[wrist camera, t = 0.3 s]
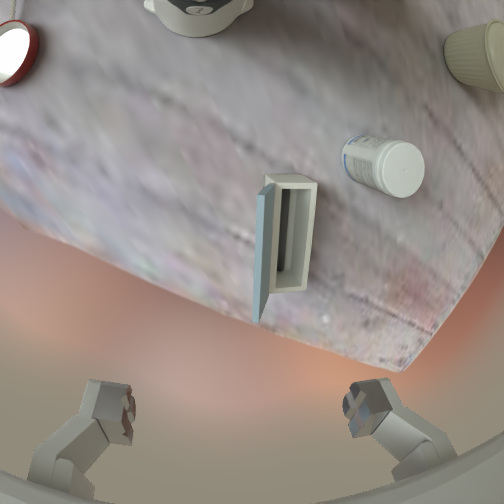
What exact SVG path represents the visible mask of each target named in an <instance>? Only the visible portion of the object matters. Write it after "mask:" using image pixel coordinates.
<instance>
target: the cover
mask: <svg viewBox="0 0 504 504" xmlns="http://www.w3.org/2000/svg"><path fill="white" fill-rule="evenodd" d="M274 201H275V183H269V184H268V185H267V186H265V187H264V188H263V189H262V190H261V191H260V192H259V193H258V194H257V211H256V238H255V265H254V291H253V317H252V322H256V323H259V320H260V318H261V315H262V313H263V310H264V307H265V305H266V302H267V299H268V296H269V284H270V269H271V253H272V236H273V219H274Z"/></svg>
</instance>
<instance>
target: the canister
mask: <svg viewBox="0 0 504 504" xmlns="http://www.w3.org/2000/svg"><path fill="white" fill-rule="evenodd" d="M444 57H445V61H446V64H447V66H448V68H449V70H450V72H451V73H452V75H453V76H454V77H455V78H456V79H457V80H458V81H460V82H461V83H463V84H465V85H469V86H473V87H477V88H481V89H486V90H490V91H494V92H498V93H502V94H504V23H503V22H502V21H500V20H498V19H492V20H490V21H489V22H488V23H486V24H482V25H478V26H474V27H471V28H467V29H464V30H461V31H458V32H455V33H453V34H451V35H450V36H449V37H448V38H447V39H446V42H445V45H444Z"/></svg>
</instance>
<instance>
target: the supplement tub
mask: <svg viewBox="0 0 504 504" xmlns="http://www.w3.org/2000/svg"><path fill="white" fill-rule="evenodd" d="M342 166H343V169H344V171H345V173H346V174H347V175H348V176H349V177H350V178H351V179H353V180H355V181H357V182H359V183H362V184H364V185H367V186H369V187H371V188H374V189H376V190H378V191H381V192H383V193H385V194H388V195H390V196H394V197H398V198H406V197H409V196H411V195H412V194H414V193H415V192H416V191H417V190H418V188H419V187H420V185H421V183H422V181H423V178H424V173H425V165H424V159H423V156H422V154H421V152H420V151H419V149H418V148H417V147H416V146H414V145H413V144H411V143H408V142H405V141H401V140H395V139H389V138H383V137H376V136H368V135H357V136H354V137H353V138H351V139H350V140H349V141H348V142H347V143H346V144H345V146H344V148H343V151H342Z"/></svg>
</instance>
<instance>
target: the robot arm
mask: <svg viewBox="0 0 504 504" xmlns="http://www.w3.org/2000/svg"><path fill="white" fill-rule="evenodd" d="M253 4H254V2H253V0H145V2H144V8H145V9H146V10H147V11H148V12H150V13H152V14H154V15H156V16H157V17H158V18H159V19H160V20H161V22H162V23H163V24H164V25H165V26H166V27H167V28H168V29H170V30H171V31H173V32H175V33H177V34H180V35H183V36H188V37H204V36H209V35H213V34H215V33H218V32H220V31H222V30H224V29H225V28H226V27H228V26H229V25H230V24H231V23H232V22H233V21H234V20H235V19H236V18H237V17H238V16H239V15H240V14H243V13H245V12H247V11H249V10H250V9H252V7H253ZM131 393H132V389H131V386H130V385H128V384H120V383H113V382H106V381H100V380H93V379H90V380H89V381H88V383H87V386H86V389H85V393H84V396H83V400H82V404H81V407H80V411H79V415H74V416H73V417H72V418H70V419H69V420H68V421H67V422H66V423H65V424H64V425H62V426H61V427H60V428H59V429H58V430H57V431H55V432H54V433H53V434H52V435H51V436H50V437H49V438H47V439H46V440H45V441H44V442H43V443H42V444H40V445H39V446H38V447H37V448H36V449H35V450H34V453H33V457H32V461H31V465H30V470H29V473H28V477H27V480H26V479H23V478H21V477H18V476H16V475H13V474H11V473H9V472H6V471H4V470H2V469H0V504H113V503H108V502H102V501H98V500H94V490H95V487H94V485H93V484H92V483H91V482H90V481H89V480H88V479H87V478H86V477H85V476H84V474H85V473H86V471H87V470H88V469H89V468H90V467H91V466H92V464H93V463H94V462H95V461H96V460H97V459H98V457H99V456H100V455H101V454H102V453H103V452H104V450H105V449H106V448H107V447H108V446H109V443H113V444H121V445H129V446H131V445H132V438H133V428H132V425H131V424H132V423H133V422H134V421H135V415H136V405H135V399H134V397H133V396H132V395H131ZM342 406H343V412H344V415H345V416H346V417H347V418H348V419H350V422H349V424H348V426H349V429H350V431H351V434H352V437H353V438H357V437H362V436H367V435H372V437H373V438H374V439H375V440H376V441H377V442H378V443H379V444H381V445H382V446H383V447H384V448H385V449H386V450H387V451H388V452H389V453H390V454H392V455H393V456H394V457H395V458H396V459H397V460H398V461H399V462H400V463H399V464H398V465H397V466H396V467H394V468H393V470H392V475H393V477H394V480H395V482H394V483H391V484H389V485H385V486H382V487H379V488H376V489H372V490H369V491H366V492H362V493H358V494H355V495H350V496H346V497H342V498H338V499H333V500H329V501H324V502H318V503H313V504H504V431H503V432H501V433H499V434H498V435H496V436H494V437H493V438H491V439H489V440H488V441H486V442H484V443H483V444H480V445H479V446H477V447H475V448H473V449H471V450H469V451H467V452H465V453H463V454H461V455H459V456H457V454H456V452H455V450H454V448H453V446H452V444H451V442H450V440H449V438H448V436H447V434H446V433H445V432H443V431H442V430H440V429H439V428H437V427H436V426H434V425H433V424H431V423H430V422H428V421H427V420H425V419H424V418H422V417H421V416H419V415H418V414H416V413H415V412H414V411H412V410H411V409H409V408H408V407H403V405H402V402H401V400H400V398H399V396H398V395H397V393H396V391H395V389H394V387H393V385H392V383H391V381H390V380H389V379H388V378H380V379H371V380H366V381H359V382H354V383H352V384H351V386H350V392H349V393H347V394H346V395H345V397H344V399H343V405H342Z"/></svg>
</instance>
